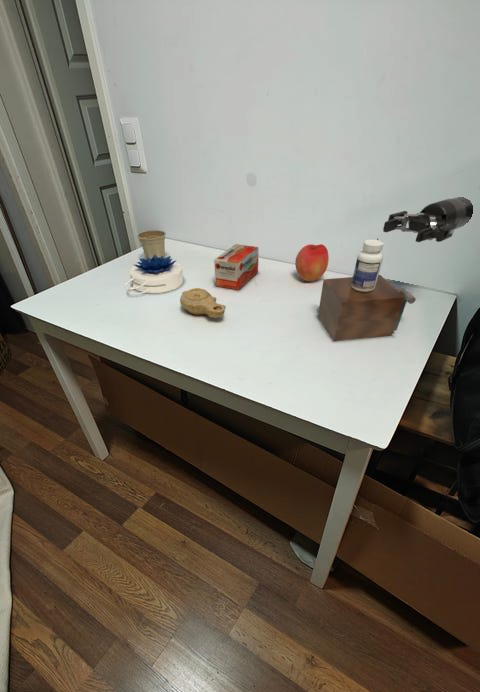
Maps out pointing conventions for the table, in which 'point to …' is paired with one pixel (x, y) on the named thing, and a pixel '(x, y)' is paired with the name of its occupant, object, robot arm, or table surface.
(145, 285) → the lotus flower trinket box
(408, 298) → the drawer
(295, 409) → the table surface
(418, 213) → the robot arm
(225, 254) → the medicine box
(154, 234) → the flower pot
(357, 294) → the cabinet
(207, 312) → the oil lamp
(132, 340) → the table surface
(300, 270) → the apple
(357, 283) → the pill bottle
